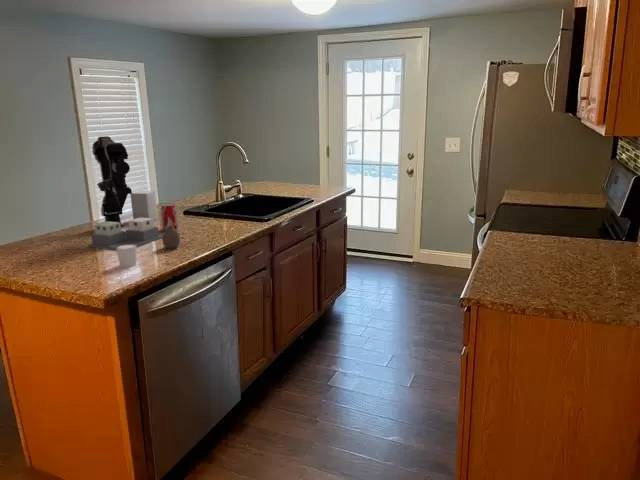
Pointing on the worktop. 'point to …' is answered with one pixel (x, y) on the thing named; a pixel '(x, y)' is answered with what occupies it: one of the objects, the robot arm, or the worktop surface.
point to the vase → (171, 238)
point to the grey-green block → (107, 228)
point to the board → (125, 238)
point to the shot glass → (127, 255)
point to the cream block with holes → (141, 224)
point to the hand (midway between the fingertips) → (121, 207)
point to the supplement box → (144, 204)
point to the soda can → (169, 215)
